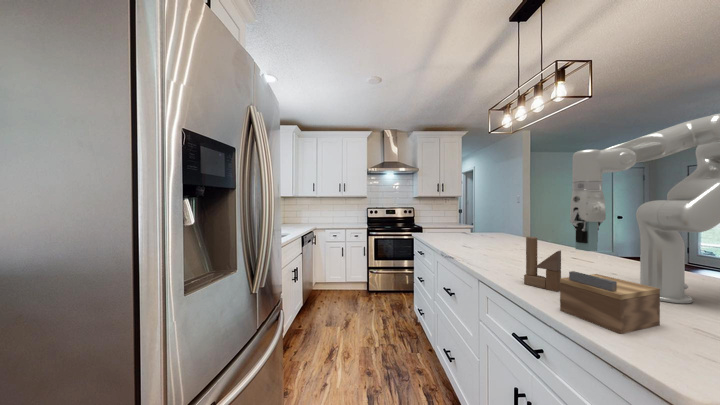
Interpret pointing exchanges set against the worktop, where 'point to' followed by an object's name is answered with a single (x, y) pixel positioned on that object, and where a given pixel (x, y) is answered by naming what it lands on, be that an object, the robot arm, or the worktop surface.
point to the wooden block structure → (550, 264)
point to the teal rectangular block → (589, 238)
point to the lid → (608, 286)
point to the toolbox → (611, 309)
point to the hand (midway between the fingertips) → (586, 241)
